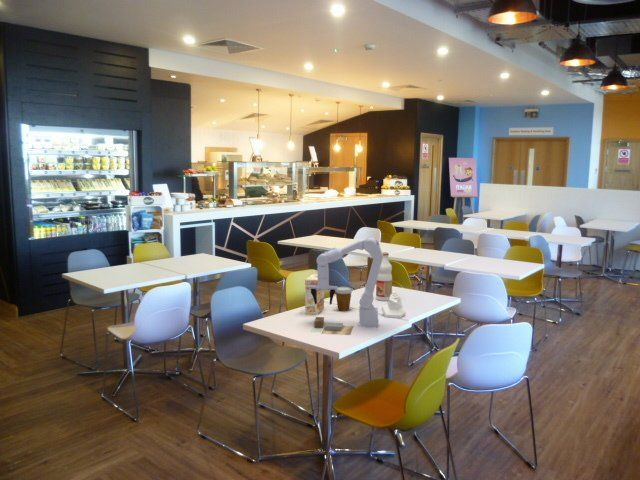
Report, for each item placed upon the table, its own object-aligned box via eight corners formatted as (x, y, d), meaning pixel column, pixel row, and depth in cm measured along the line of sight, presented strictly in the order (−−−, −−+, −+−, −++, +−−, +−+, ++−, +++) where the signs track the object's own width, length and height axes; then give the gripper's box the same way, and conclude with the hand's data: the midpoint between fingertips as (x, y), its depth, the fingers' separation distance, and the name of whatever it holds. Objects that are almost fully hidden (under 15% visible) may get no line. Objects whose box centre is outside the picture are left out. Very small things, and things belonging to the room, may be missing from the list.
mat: (353, 326, 265) (353, 326, 265) (350, 335, 251) (350, 334, 251) (325, 325, 267) (325, 324, 267) (321, 334, 254) (321, 333, 253)
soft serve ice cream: (409, 315, 288) (415, 292, 283) (395, 324, 277) (400, 300, 272) (390, 306, 295) (395, 283, 290) (375, 314, 284) (380, 291, 279)
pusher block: (322, 329, 262) (324, 324, 269) (322, 321, 261) (323, 317, 268) (314, 329, 262) (316, 324, 269) (314, 321, 262) (316, 317, 269)
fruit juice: (392, 301, 313) (392, 254, 309) (376, 301, 314) (376, 254, 310) (391, 297, 322) (392, 251, 318) (375, 297, 323) (376, 251, 319)
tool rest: (322, 329, 260) (322, 328, 260) (320, 332, 256) (320, 332, 255) (312, 329, 261) (312, 328, 261) (310, 332, 256) (310, 331, 256)
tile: (342, 323, 262) (341, 326, 256) (342, 327, 263) (341, 331, 257) (326, 322, 264) (324, 326, 258) (326, 326, 264) (324, 330, 258)
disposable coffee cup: (354, 310, 293) (355, 289, 292) (339, 312, 290) (339, 291, 288) (347, 306, 302) (347, 285, 300) (332, 308, 299) (332, 287, 297)
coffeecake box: (317, 315, 285) (317, 279, 282) (304, 314, 287) (304, 279, 284) (324, 308, 299) (324, 274, 296) (312, 307, 301) (312, 273, 298)
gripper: (338, 276, 271) (338, 302, 273) (310, 275, 274) (310, 301, 276) (336, 279, 264) (336, 305, 266) (307, 278, 267) (308, 304, 269)
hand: (323, 303), depth 270 cm, fingers open, 7 cm apart
